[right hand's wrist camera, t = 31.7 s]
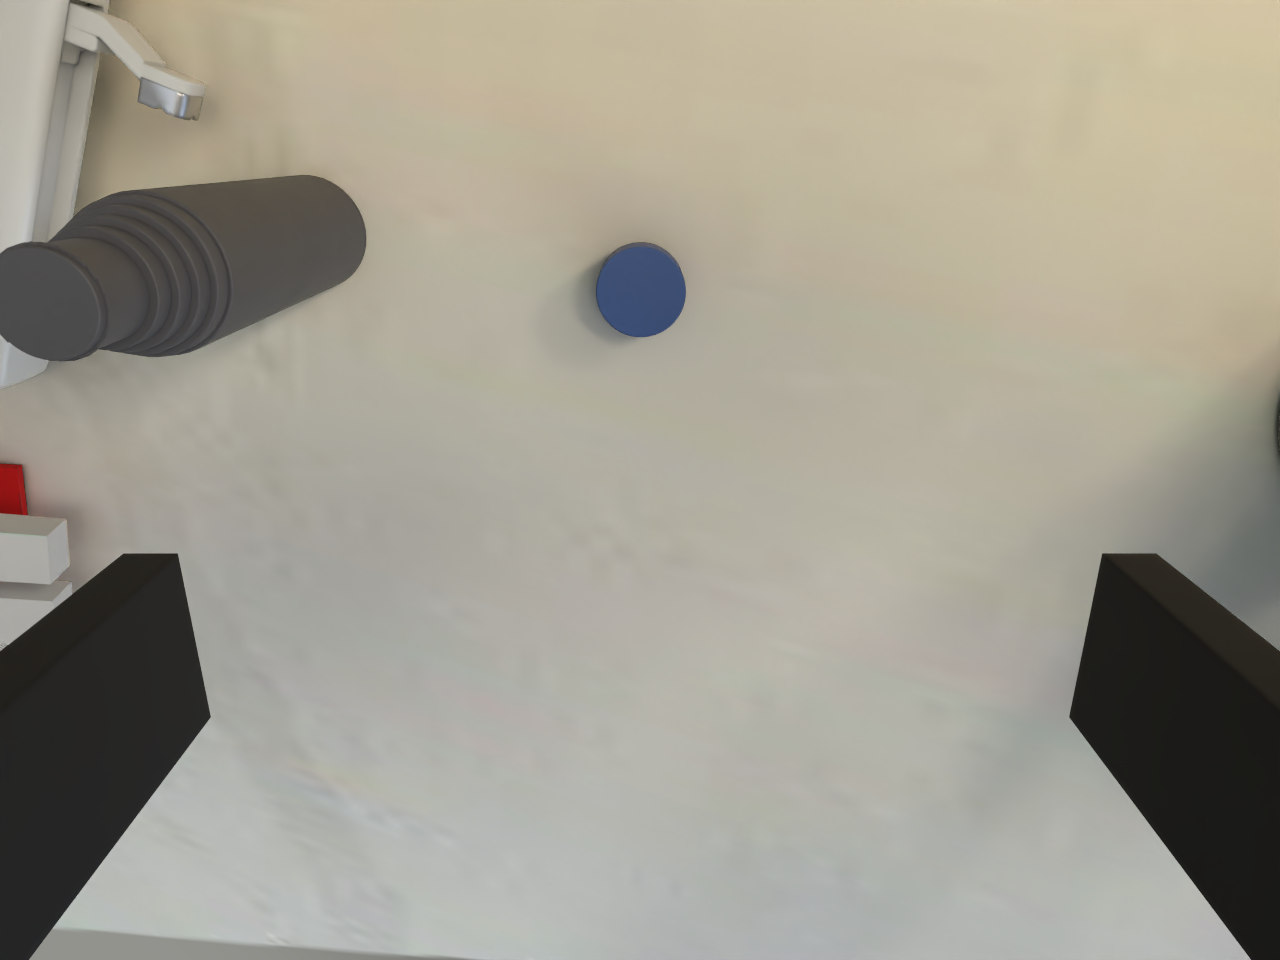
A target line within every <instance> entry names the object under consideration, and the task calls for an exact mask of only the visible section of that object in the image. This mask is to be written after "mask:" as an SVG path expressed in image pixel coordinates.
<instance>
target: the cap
mask: <svg viewBox="0 0 1280 960" xmlns="http://www.w3.org/2000/svg"><path fill="white" fill-rule="evenodd" d="M685 295H686V289H685V282H684V278H683V275H682V272H681V269H680V267H679V265H678V263H677V262H676V260H675V259H674V258H673V257H672V255H671V254H670V253H668V252H667V251H666V250H664V249H663V248H661V247H659V246H657V245H654V244H651V243H644V242H638V243H631V244H628V245H625V246H623V247H621V248H619V249H617V250H616V251H615V252H613V253H612V254H611V255H610V256H609V257H608V259H607V260H606V261H605V263H604V265H603V266H602V269H601V271H600V274H599V277H598V281H597V287H596V297H597V303H598V306H599V309H600V311H601V313H602V315H603V317H604V318H605V319H606V321H607V322H608V323H609V324H610V325H611V326H612V327H613V328H615V329H616V330H618V331H619V332H621V333H624V334H626V335H629V336H634V337H648V336H652V335H656V334H658V333H660V332H662V331H664V330H666V329H667V328H668V327H670V326H671V325H672V324H673V323H674V322H675V320H676V319H677V318H678V316H679V315H680V313H681V311H682V308H683V305H684V302H685Z"/></svg>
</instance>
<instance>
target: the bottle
mask: <svg viewBox="0 0 1280 960" xmlns="http://www.w3.org/2000/svg"><path fill="white" fill-rule="evenodd" d="M365 247H366V231H365V226H364V222H363V219H362V216H361V214H360V212H359V210H358V208H357V206H356V205H355V203H354V202H353V201H352V199H351V198H350V197H349V196H348V195H347V194H346V193H345V192H344V191H343V190H342V189H341V188H339V187H338V186H337V185H335V184H333V183H332V182H330V181H327V180H325V179H323V178H319V177H316V176H310V175H298V176H287V177H276V178H265V179H253V180H242V181H231V182H220V183H209V184H198V185H186V186H175V187H164V188H153V189H142V190H131V191H122V192H118V193H114V194H111V195H109V196H107V197H104V198H102V199H100V200H98V201H95V202H93V203H91V204H89V205H88V206H86V207H85V208H83V209H82V210H81V211H80V212H79V213H77V214H76V215H75V216H74V217H73V218H72V219H71V220H70V221H69V222H68V223H67V224H66V225H65V226H64V227H63V228H62V229H61V230H60V231H59V232H57V234H56V235H55V236H54V237H53V238H52V239H50V240H49V241H48V242H47V243H45V242H33V241H30V242H23V243H20V244H17V245H14V246H11V247H8V248H6V249H5V250H4V251H2V252H1V253H0V335H1V336H2V337H3V338H4V339H5V340H6V341H7V342H8V343H9V342H10V343H11V344H12V345H13V346H15V347H16V348H18V349H19V350H21V351H22V352H24V353H26V354H28V355H31V356H33V357H36V358H40V359H44V360H50V361H75V360H78V359H81V358H84V357H87V356H89V355H91V354H92V353H93V352H95V351H96V350H98V349H102V350H109V351H114V352H122V353H126V354H133V355H140V356H146V357H163V356H171V355H180V354H184V353H188V352H191V351H194V350H196V349H199V348H201V347H203V346H205V345H208V344H210V343H212V342H214V341H216V340H218V339H221V338H223V337H225V336H227V335H229V334H231V333H234V332H236V331H238V330H240V329H242V328H244V327H247V326H249V325H251V324H253V323H255V322H257V321H260V320H262V319H264V318H266V317H268V316H270V315H273V314H275V313H277V312H279V311H281V310H283V309H286V308H288V307H290V306H292V305H294V304H296V303H299V302H301V301H303V300H305V299H307V298H309V297H312V296H314V295H316V294H318V293H320V292H322V291H325V290H327V289H329V288H331V287H333V286H335V285H338V284H340V283H341V282H343V281H345V280H346V279H348V278H349V277H350V276H351V275H352V274H353V273H354V272H355V271H356V269H357V268H358V266H359V265H360V263H361V261H362V259H363V255H364V252H365Z"/></svg>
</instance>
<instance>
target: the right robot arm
mask: <svg viewBox="0 0 1280 960" xmlns="http://www.w3.org/2000/svg"><path fill="white" fill-rule="evenodd" d="M1278 441H1279V449H1280V414H1279V424H1278ZM210 717H211V716H210V711H209V706H208V701H207V696H206V691H205V686H204V681H203V677H202V672H201V667H200V662H199V657H198V652H197V647H196V642H195V637H194V632H193V627H192V622H191V617H190V612H189V607H188V602H187V597H186V592H185V587H184V582H183V578H182V573H181V568H180V563H179V558H178V554H123V555H121V556H120V557H119V558H118V559H116V560H115V561H114V562H112V563H111V564H110V565H109V566H107V567H106V568H105V569H104V570H102V571H101V572H100V573H99V574H97V575H96V576H95V577H94V578H92V579H91V580H90V581H88V582H87V583H86V584H85V585H83V586H82V587H81V588H80V589H78V590H77V591H76V592H75V593H73V594H72V595H71V596H70V597H68V598H67V599H66V600H65V601H63V602H62V603H61V604H59V605H58V606H57V607H56V608H54V609H53V610H52V611H51V612H49V613H48V614H47V615H46V616H44V617H43V618H42V619H41V620H39V621H38V622H37V623H35V624H34V625H33V626H32V627H30V628H29V629H28V630H27V631H25V632H24V633H23V634H22V635H20V636H19V637H18V638H17V639H15V640H14V641H13V642H11V643H10V644H9V645H8V646H6V647H5V648H4V649H3V650H1V651H0V960H29V959H30V957H31V956H32V955H33V953H34V952H35V951H36V949H37V948H38V947H39V945H40V944H41V943H42V941H43V940H44V939H45V937H46V936H47V935H48V933H49V932H50V931H51V929H52V928H53V927H54V925H55V924H56V923H57V921H58V920H59V919H60V917H61V916H62V915H63V913H64V912H65V911H66V909H67V908H68V907H69V905H70V904H71V903H72V901H73V900H74V899H75V897H76V896H77V895H78V893H79V892H80V891H81V889H82V888H83V887H84V885H85V884H86V883H87V881H88V880H89V879H90V877H91V876H92V875H93V873H94V872H95V871H96V869H97V868H98V867H99V865H100V864H101V863H102V861H103V860H104V859H105V857H106V856H107V855H108V853H109V852H110V851H111V849H112V848H113V847H114V845H115V844H116V843H117V841H118V840H119V839H120V837H121V836H122V835H123V833H124V832H125V831H126V829H127V828H128V827H129V825H130V824H131V823H132V821H133V820H134V819H135V817H136V816H137V815H138V813H139V812H140V811H141V809H142V808H143V807H144V805H145V804H146V803H147V801H148V800H149V799H150V797H151V796H152V795H153V793H154V792H155V791H156V789H157V788H158V787H159V785H160V784H161V783H162V781H163V780H164V779H165V777H166V776H167V775H168V773H169V772H170V771H171V769H172V768H173V767H174V765H175V764H176V763H177V761H178V760H179V759H180V757H181V756H182V755H183V753H184V752H185V751H186V749H187V748H188V747H189V745H190V744H191V743H192V741H193V740H194V739H195V737H196V736H197V735H198V733H199V732H200V731H201V729H202V728H203V727H204V725H205V724H206V723H207V721H208V720H209V719H210ZM1069 717H1070V719H1071V720H1072V721H1073V723H1074V724H1075V725H1076V727H1077V728H1078V729H1079V731H1080V732H1081V733H1082V735H1083V736H1084V737H1085V739H1086V740H1087V741H1088V743H1089V744H1090V745H1091V747H1092V748H1093V749H1094V751H1095V752H1096V753H1097V755H1098V756H1099V757H1100V759H1101V760H1102V761H1103V763H1104V764H1105V765H1106V767H1107V768H1108V769H1109V771H1110V772H1111V773H1112V775H1113V776H1114V777H1115V779H1116V780H1117V781H1118V783H1119V784H1120V785H1121V787H1122V788H1123V789H1124V791H1125V792H1126V793H1127V795H1128V796H1129V797H1130V799H1131V800H1132V801H1133V803H1134V804H1135V805H1136V807H1137V808H1138V809H1139V811H1140V812H1141V813H1142V815H1143V816H1144V817H1145V819H1146V820H1147V821H1148V823H1149V824H1150V825H1151V827H1152V828H1153V829H1154V831H1155V832H1156V833H1157V835H1158V836H1159V837H1160V839H1161V840H1162V841H1163V843H1164V844H1165V845H1166V847H1167V848H1168V849H1169V851H1170V852H1171V853H1172V855H1173V856H1174V857H1175V859H1176V860H1177V861H1178V863H1179V864H1180V865H1181V867H1182V868H1183V869H1184V871H1185V872H1186V873H1187V875H1188V876H1189V877H1190V879H1191V880H1192V881H1193V883H1194V884H1195V885H1196V887H1197V888H1198V889H1199V891H1200V892H1201V893H1202V895H1203V896H1204V897H1205V899H1206V900H1207V901H1208V903H1209V904H1210V905H1211V907H1212V908H1213V909H1214V911H1215V912H1216V913H1217V915H1218V916H1219V917H1220V919H1221V920H1222V921H1223V923H1224V924H1225V925H1226V927H1227V928H1228V929H1229V931H1230V932H1231V933H1232V935H1233V936H1234V937H1235V939H1236V940H1237V941H1238V943H1239V944H1240V945H1241V947H1242V948H1243V949H1244V951H1245V952H1246V953H1247V955H1248V956H1249V957H1250V959H1251V960H1280V651H1279V650H1277V649H1276V648H1275V647H1274V646H1272V645H1271V644H1270V643H1269V642H1267V641H1266V640H1265V639H1263V638H1262V637H1261V636H1260V635H1258V634H1257V633H1256V632H1255V631H1253V630H1252V629H1251V628H1250V627H1248V626H1247V625H1246V624H1245V623H1243V622H1242V621H1241V620H1239V619H1238V618H1237V617H1236V616H1234V615H1233V614H1232V613H1231V612H1229V611H1228V610H1227V609H1226V608H1224V607H1223V606H1222V605H1221V604H1219V603H1218V602H1217V601H1215V600H1214V599H1213V598H1212V597H1210V596H1209V595H1208V594H1207V593H1205V592H1204V591H1203V590H1202V589H1200V588H1199V587H1198V586H1197V585H1195V584H1194V583H1193V582H1192V581H1190V580H1189V579H1188V578H1186V577H1185V576H1184V575H1183V574H1181V573H1180V572H1179V571H1178V570H1176V569H1175V568H1174V567H1173V566H1171V565H1170V564H1169V563H1168V562H1166V561H1165V560H1164V559H1162V558H1161V557H1160V556H1159V555H1157V554H1102V558H1101V563H1100V568H1099V573H1098V578H1097V582H1096V587H1095V592H1094V597H1093V602H1092V607H1091V612H1090V617H1089V622H1088V627H1087V632H1086V637H1085V642H1084V647H1083V652H1082V657H1081V662H1080V667H1079V672H1078V676H1077V681H1076V686H1075V691H1074V696H1073V701H1072V706H1071V711H1070V716H1069Z"/></svg>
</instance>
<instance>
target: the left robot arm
mask: <svg viewBox="0 0 1280 960" xmlns="http://www.w3.org/2000/svg"><path fill="white" fill-rule="evenodd" d="M109 2H110V0H0V253H1V252H2V251H4V250H5V249H6V248H8V247H11V246H14V245H17V244H20V243H23V242H30V241H33V242H45V243H47V242H48V241H49V240H50V239H52V238H53V237H54V236H55V235H56V234H57V232H59V231H60V230H61V229H62V228H63V227H64V226H65V225H66V224H67V223H68V222H69V221H70V220H71V219H72V218H73V214H74V208H75V202H76V196H77V190H78V184H79V178H80V172H81V167H82V161H83V155H84V149H85V143H86V137H87V131H88V126H89V120H90V114H91V108H92V102H93V96H94V90H95V84H96V78H97V73H98V67H99V61H100V55H101V53H103V54H109V55H115V56H117V57H118V58H119V59H120V60H121V61H122V62H123V63H124V64H125V65H126V66H127V67H128V68H129V69H130V71H131V72H132V73H133V74H134V75H135V76H136V77H137V78H138V79H139V80H141V83H140V89H139V95H138V102H140V103H142V104H145V105H147V106H149V107H152V108H155V109H163V110H164V112H165V113H167V114H169V115H172V116H175V117H178V118H181V119H185V120H190V119H193V120H196V121H198V118H199V114H200V110H201V105H202V101H203V97H204V94H205V88H206V85H205V84H204V83H202V82H200V81H198V80H195V79H193V78H190V77H188V76H185V75H183V74H180V73H178V72H176V71H173V70H171V69H168V68H166V66H167V64H166V63H165V62H164V61H163V60H162V58H161V57H160V56H159V55H158V54H157V53H156V51H155V50H154V49H153V48H152V47H151V46H150V44H149V43H148V42H147V41H146V40H145V39H144V37H143V36H142V35H141V34H140V33H139V32H138V30H137V29H136V28H135V27H134V26H133V25H132V23H130V22H127V21H125V20H122V19H120V18H118V17H115V16H113V15H110V14H108V8H109ZM48 361H49V360H44V359H40V358H36V357H33V356H31V355H28V354H26V353H24V352H22V351H21V350H19V349H18V348H16V347H15V346H13V345H12V344H11V343H10V342H9V343H8V342H7V341H6V340H5V339H4V338H3V337H2V336H1V335H0V389H4V388H7V387H10V386H13V385H16V384H18V383H21V382H23V381H25V380H27V379H29V378H31V377H33V376H36V375H38V374H40V373H41V372H43V371H44V370H45V369H46V367H47V365H48Z"/></svg>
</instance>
